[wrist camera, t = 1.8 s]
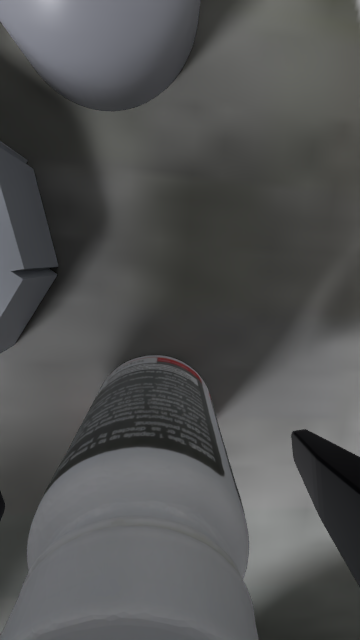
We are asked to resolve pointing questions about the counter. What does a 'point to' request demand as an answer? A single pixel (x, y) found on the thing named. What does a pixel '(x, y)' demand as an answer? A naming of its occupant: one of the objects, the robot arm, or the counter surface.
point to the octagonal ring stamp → (21, 246)
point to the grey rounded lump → (104, 46)
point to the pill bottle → (140, 521)
